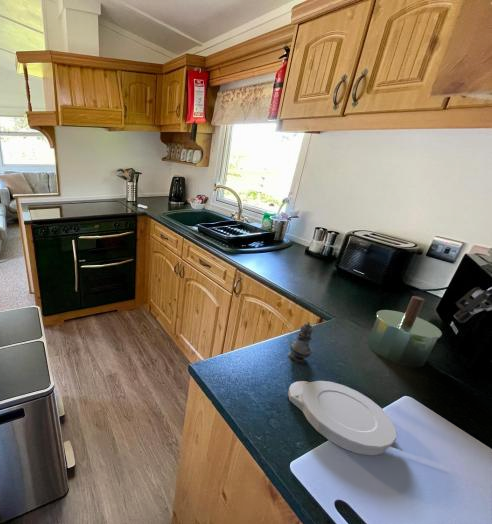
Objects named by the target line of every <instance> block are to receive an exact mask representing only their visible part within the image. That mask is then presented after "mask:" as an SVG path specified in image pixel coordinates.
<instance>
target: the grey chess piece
mask: <svg viewBox="0 0 492 524" xmlns="http://www.w3.org/2000/svg"><path fill="white" fill-rule="evenodd" d="M313 331H314V330H313V326H312V325H311V323H310V321H307V322H306V323H302V324H301V326H300V330H299V332H298V333H297V335H296V336H297V337H296V338H297V339H296V341H295V340H293V341H291V342H290V343H289V349H290V351H289V352H288V353H287V357H288V359H290V360H291V361H292V362H294V363H297V364H300V365H306V364H307V362H306V359H307V358H309V356H311V354H313V349H312V347H311V346H310V345H309V344H310V341H312V333H313Z"/></svg>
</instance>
